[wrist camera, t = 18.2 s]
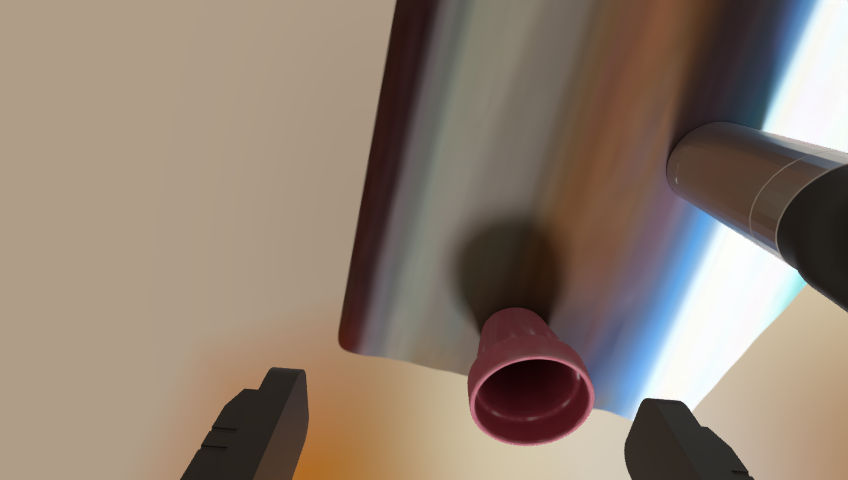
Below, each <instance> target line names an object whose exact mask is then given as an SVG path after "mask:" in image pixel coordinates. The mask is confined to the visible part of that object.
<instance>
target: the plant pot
mask: <svg viewBox="0 0 848 480" xmlns="http://www.w3.org/2000/svg"><path fill="white" fill-rule="evenodd" d="M468 396H469V405H470V411H471V415H472V418H473V420H474V421H475V423H476V424H477V426H478V427H479V428H480V429H481V430H482V431H483V432H484V433H485V434H487V435H488V436H490V437H492V438H494V439H496V440H498V441H501V442H504V443H508V444H513V445H520V446H534V445H542V444H546V443H550V442H553V441H557V440H559V439H561V438H563V437H565V436H567V435H569V434H571V433H572V432H574V431H575V430H576V429H577V428H578V427H580V426H581V425H582V423H584V421H585V420H586V419H587V417H588V416H589V414H590V412H591V410H592V408H593V404H594V388H593V385H592V382H591V379H590V377H589V374H588V372H587V370H586V367H585V365H584V363H583V361H582V360H581V358H580V356H579V355H578V354H577V353H576V352H575V351H574V350H573V349H572V348H571V347H570V346H568V345H567V344H565V343H564V342H562V341H560V340H559V338H558V337H557V336H556V335H555V334H554V332H553V331H552V330H551V329H550V328H549V327H548V325H547V324H546V323H545V322H544V321H543V319H542V318H541V317H540V316H539V315H537V314H536V313H535V312H533V311H531V310H528V309H525V308H517V307H514V308H507V309H503V310H500V311H498V312H496V313H494V314H493V315H492V316H490V317H489V318H488V320H487V321H486V322H485V324H484V326H483V328H482V332H481V338H480V343H479V348H478V354H477V359H476V360H475V362H474V363H473V365H472V367H471V369H470V372H469V376H468Z"/></svg>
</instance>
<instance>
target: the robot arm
mask: <svg viewBox="0 0 848 480" xmlns="http://www.w3.org/2000/svg"><path fill="white" fill-rule="evenodd" d="M667 178H668V182H669V185H670V186H671V188H672V190H673V191H674V192H675V193H676V194H677V195H678V196H680V197H682V198H683V199H685V200H686V201H688V202H690V203H691V204H693V205H694V206H696V207H697V208H699V209H700V210H702V211H704V212H705V213H707V214H708V215H710V216H711V217H713V218H715V219H716V220H718V221H719V222H721V223H723V224H724V225H726V226H727V227H729V228H731V229H732V230H734V231H735V232H737V233H739V234H740V235H742V236H743V237H745V238H747V239H748V240H750V241H751V242H753V243H755V244H756V245H758V246H759V247H761V248H763V249H764V250H766V251H768V252H769V253H771V254H772V255H774V256H776V257H777V258H779V259H780V260H782V261H784V262H785V263H787V264H788V265H790V266H792V267H793V268H795V269H796V270H798V272H799V274H800V275H801V277H802V278H803V279H804V280H805V281H806V282H807V283H808V284H809V285H810V286H811V287H813V288H814V289H815V290H817V291H818V292H820V293H821V294H822V295H824V296H825V297H827V298H828V299H830V300H831V301H833V302H834V303H835V304H837V305H838V306H840V307H841V308H842V309H844V310H845V311H846V312H848V153H845V152H841V151H837V150H834V149H830V148H826V147H822V146H818V145H814V144H811V143H807V142H803V141H799V140H795V139H791V138H788V137H784V136H780V135H776V134H772V133H769V132H765V131H761V130H758V129H754V128H750V127H746V126H742V125H739V124H735V123H731V122H722V121H719V122H711V123H708V124H705V125H702V126H700V127H698V128H696V129H694V130H692V131H691V132H690V133H688V134H687V135H686V136H684V138H683V139H682V140H681V141H680V142H679V143H678V144H677V145H676V147H675V148H674V150H673V151H672V154H671V156H670V158H669V161H668V165H667ZM308 421H309V412H308V399H307V385H306V374H305V371H304V370H302V369H289V368H277V367H272V368H271V369H270V370H269V371H268V373H267V375H266V377H265V378H264V380H263V382H262V384H261V386H260V388H259V389H258V390H254V389H244V390H242V391H241V392H240V393H239V394H238V395H237V396H236V397H234V398H233V399H232V400H231V401H230V402H229V403H227V404H226V405H225V406H224V408H223V410H222V411H221V413H220V415H219V416H218V418H217V420H216V421H215V423H214V425H213V426H212V430H211V431H209V433H208V434H207V436H206V438H205V439H204V441H203V443H202V444H201V449H200V450H198V451H197V453H196V454H195V456H194V458H193V459H192V461H191V463H190V464H189V466H188V468H187V469H186V471H185V473H184V474H183V476H182V478H181V479H180V480H292V477H293V474H294V472H295V468H296V466H297V463H298V460H299V457H300V454H301V451H302V448H303V445H304V442H305V439H306V434H307V429H308ZM624 452H625V462H626V466H627V469H628V472H629V474H630V477H631V479H632V480H754V479H753V477H751V476H749V474H748V471H747V469H746V468H745V466H744V465H743V463H742V462H741V461H740V459H739V458H738V456H737V455H736V454H735V452H734V451H733V450H732V448H731V447H730V446H729V445H727V444H726V443H725V442H724V441H723V440H722V439H721V438H719V437H718V436H717V435H716V434H715V433H714V432H713V431H711V430H710V429H709V428H708V427H701V426H700V424H699V423H698V421H697V420H696V418H695V417H694V416H693V414H692V413H691V411H690V410H689V408H688V407H687V406H686V405H685V404H684V403H683V402H681V401H677V400H664V399H651V398H646V399H644V400H643V401H642V402H641V404H640V407H639V409H638V412H637V414H636V417H635V419H634V422H633V424H632V427H631V429H630V432H629V434H628V437H627V439H626V442H625V449H624Z"/></svg>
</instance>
